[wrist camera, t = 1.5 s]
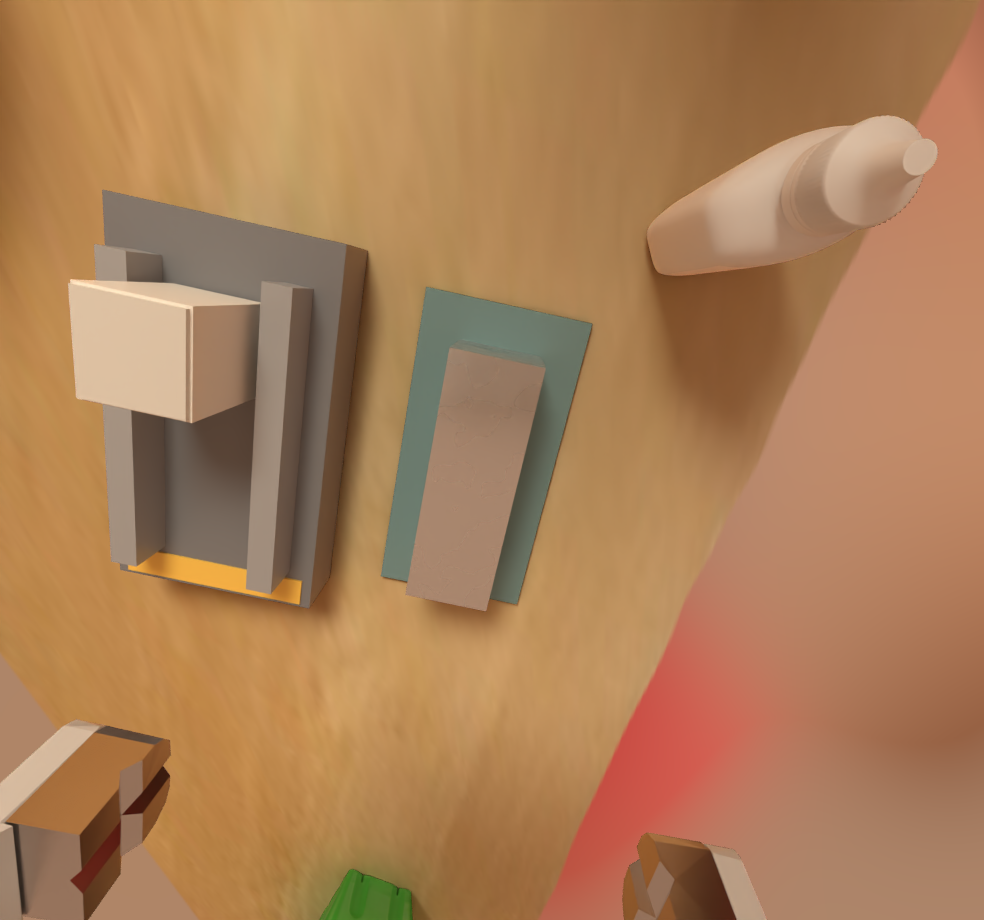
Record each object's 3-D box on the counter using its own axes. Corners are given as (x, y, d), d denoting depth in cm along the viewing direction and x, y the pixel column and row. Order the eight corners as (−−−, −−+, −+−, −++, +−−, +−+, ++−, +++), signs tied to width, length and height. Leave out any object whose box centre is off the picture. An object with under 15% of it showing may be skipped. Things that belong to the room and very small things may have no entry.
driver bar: (460, 339, 23) (449, 347, 20) (541, 356, 24) (546, 368, 20) (420, 553, 27) (405, 594, 24) (490, 567, 27) (486, 611, 24)
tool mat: (427, 287, 23) (426, 287, 23) (591, 323, 23) (592, 324, 23) (382, 573, 28) (380, 576, 28) (516, 601, 28) (516, 604, 28)
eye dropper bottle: (754, 291, 22) (998, 286, 11) (634, 270, 22) (757, 245, 11) (787, 185, 21) (1106, 56, 10) (660, 163, 21) (829, 9, 10)
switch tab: (173, 283, 20) (64, 279, 16) (267, 303, 21) (188, 306, 16) (173, 376, 22) (73, 400, 17) (262, 395, 22) (188, 424, 17)
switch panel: (154, 202, 22) (58, 178, 18) (367, 250, 23) (328, 238, 18) (159, 542, 28) (88, 591, 23) (329, 577, 28) (292, 633, 24)
